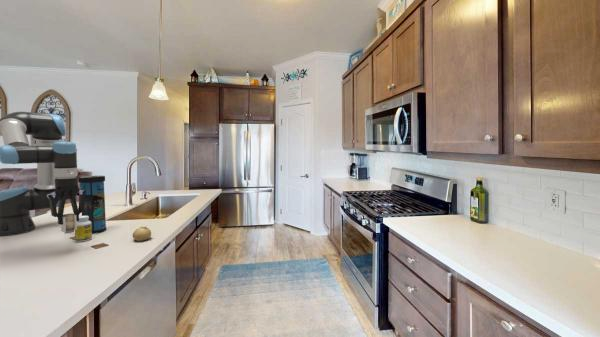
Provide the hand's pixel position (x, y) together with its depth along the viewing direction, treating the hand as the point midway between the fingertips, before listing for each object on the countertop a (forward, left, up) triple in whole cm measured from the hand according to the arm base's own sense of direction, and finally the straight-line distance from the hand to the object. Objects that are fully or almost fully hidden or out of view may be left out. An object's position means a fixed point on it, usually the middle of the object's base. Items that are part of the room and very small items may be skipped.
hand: (69, 230), depth 116 cm
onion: (+13, +24, -9) cm, 29 cm away
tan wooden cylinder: (0, 0, -1) cm, 1 cm away
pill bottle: (-11, +9, -9) cm, 17 cm away
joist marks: (-6, +9, -9) cm, 14 cm away
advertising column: (-21, +18, -9) cm, 30 cm away
